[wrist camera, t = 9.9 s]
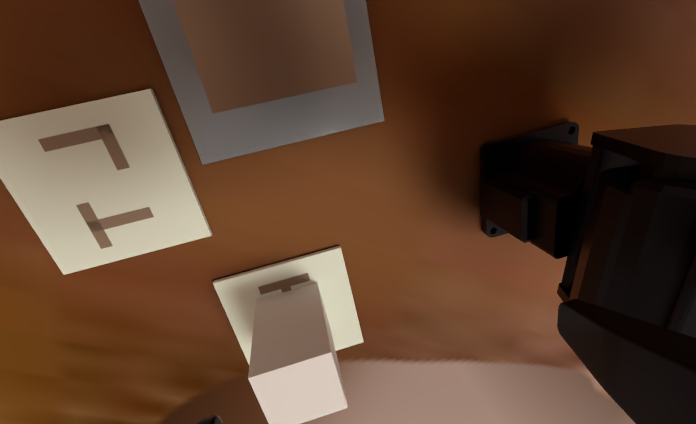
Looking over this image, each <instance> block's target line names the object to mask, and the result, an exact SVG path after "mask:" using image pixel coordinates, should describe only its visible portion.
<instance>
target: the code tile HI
mask: <svg viewBox="0 0 696 424" xmlns="http://www.w3.org/2000/svg"><path fill="white" fill-rule="evenodd" d="M314 283H318V286H319V290H320V293H321V297H322V300H323V304H324V307H325V311H326V314H327V318H328V321H329V324H330V328H331V332H332V337H333V341H334V346H335V350H336V351H337V350H340V349H343V348H346V347H350V346H353V345H356V344H359V343H362V342H364V341H363V337H362V333H361V329H360V325H359V321H358V317H357V313H356V308H355V304H354V300H353V296H352V292H351V288H350V284H349V279H348V275H347V271H346V267H345V263H344V259H343V255H342V251H341V247H340V246H336V247H333V248H329V249H325V250H322V251H318V252H315V253H311V254H308V255H304V256H300V257H297V258H293V259H290V260H286V261H282V262H279V263H275V264H272V265H268V266H265V267H261V268H257V269H254V270H250V271H247V272H243V273H240V274H236V275H232V276H229V277H225V278H222V279H218V280H214V282H213V285H214V287H215V289H216V292H217V294H218V296H219V298H220V301H221V303H222V305H223V307H224V310H225V312H226V314H227V316H228V319H229V321H230V323H231V325H232V328H233V330H234V332H235V334H236V337H237V339H238V341H239V343H240V346H241V348H242V350H243V352H244V355H245V357H246V359H247V361H248V364H249V365H250V355H251V345H252V335H253V325H254V315H255V305H256V300H259V299H263V298H266V297H269V296H273V295H276V294H280V293H283V292H287V291H290V290H294V289H297V288H301V287H304V286H307V285H311V284H314Z"/></svg>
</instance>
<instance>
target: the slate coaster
mask: <svg viewBox="0 0 696 424" xmlns="http://www.w3.org/2000/svg"><path fill="white" fill-rule="evenodd" d="M138 1H139V3H140V6H141V8H142V11H143V14H144V16H145V19H146V21H147V24H148V26H149V29H150V31H151V34H152V37H153V39H154V42H155V44H156V47H157V49H158V52H159V55H160V57H161V60H162V62H163V65H164V67H165V70H166V72H167V75H168V78H169V80H170V83H171V85H172V88H173V90H174V93H175V95H176V98H177V101H178V103H179V106H180V108H181V111H182V113H183V116H184V118H185V121H186V124H187V126H188V129H189V131H190V134H191V136H192V139H193V141H194V144H195V147H196V149H197V152H198V154H199V157H200V159H201V162H202V165H204V164H208V163H212V162H216V161H220V160H224V159H229V158H233V157H237V156H241V155H245V154H249V153H253V152H258V151H262V150H266V149H270V148H274V147H278V146H282V145H286V144H291V143H295V142H299V141H303V140H307V139H311V138H315V137H320V136H324V135H328V134H332V133H336V132H340V131H344V130H349V129H353V128H357V127H361V126H365V125H369V124H373V123H378V122H382V121H384V115H383V108H382V102H381V95H380V89H379V82H378V76H377V69H376V63H375V56H374V50H373V43H372V37H371V30H370V24H369V17H368V11H367V4H366V0H343V2H344V8H345V14H346V19H347V25H348V31H349V37H350V43H351V49H352V55H353V60H354V66H355V72H356V78H357V82H356V83H351V84H347V85H342V86H338V87H333V88H329V89H324V90H319V91H315V92H310V93H306V94H301V95H296V96H292V97H287V98H283V99H278V100H273V101H269V102H264V103H260V104H255V105H250V106H246V107H241V108H237V109H232V110H228V111H223V112H218V113H214V114H213V113H212V110H211V107H210V104H209V101H208V99H207V96H206V93H205V90H204V87H203V84H202V81H201V78H200V76H199V73H198V70H197V67H196V64H195V61H194V58H193V55H192V53H191V50H190V47H189V44H188V41H187V38H186V35H185V32H184V29H183V27H182V24H181V21H180V18H179V15H178V12H177V9H176V6H175V4H174V1H173V0H138Z"/></svg>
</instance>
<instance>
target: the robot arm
mask: <svg viewBox="0 0 696 424" xmlns="http://www.w3.org/2000/svg"><path fill="white" fill-rule="evenodd" d="M569 128H570V131H569V132H568V130H569ZM578 133H579V126H578V124H577V123H575V122H564V123H560V124H557V125H553V126H549V127H545V128H541V129H537V130H533V131H529V132H525V133H522V134H518V135H514V136H510V137H506V138H502V139H498V140H494V141H491V142H487V143H485V144H484V145H483V146H482V147H481V149H480V163H481V179H480V203H481V215H482V216H483V231H484V233H485V234H486V235H487V236H488V237H496V236H500V235H503V234H506V233H510V234H511V235H513V236H514V237H516V238H517V239H519V240H520V241H522V242H524V243H526V242H530V243H532V244H534V245H535V246H537V247H538V248H540V249H542V250H543V251H545V252H546V253H548V254H550V255H551V256H553V257H554V258H556V259H559V258H562V257H566V256H568V257H567V261H566V265H565V270H564V274H563V278H562V283H559V286H558V290H557V294H558V295H559V296H560V298H561V299H562V301H563V302H562V303H560V305H559V308H558V323H557V327H558V330H559V333H560V335H561V336H562V337H563V339H564V340H565V341H566V342H567V344H568V345H569V346H570V347H571V349H572V350H573V351H574V353H575V354H576V355H577V356H578V358H579V359H580V360H581V361H582V363H583V364H584V365H585V366H586V368H587V369H588V370H589V371H590V373H591V374H592V375H593V377H594V378H595V379H596V380H597V381H598V383H599V384H600V385H601V386H602V387H603V389H604V390H605V391H606V392H607V393H608V394H609V395H610V396H611V398H612V399H613V400H614V401H615V402H616V403H617V404H618V405H619V406H620V407H621V408H622V409H623V410H624V411H625V413H627V415H628V416H629V417H630V418H631V419H632V420H633V421H634V422H635V423H636V424H696V125H680V124H675V125H663V126H652V127H641V128H630V129H619V130H608V131H597V132H593V135H592V140H591V145H593V147H587V146H582V145H578ZM489 148H491V152H490V153H489V154H488V153H487V152H488V149H489ZM491 228H493V230H492V231H490V230H491ZM197 424H223V423H222V421H221V419H220V417H219V416H217V415H213V416H210V417H207V418H204V419H201V420H200V421H199V422H198V423H197Z"/></svg>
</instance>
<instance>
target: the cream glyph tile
mask: <svg viewBox="0 0 696 424" xmlns="http://www.w3.org/2000/svg"><path fill="white" fill-rule="evenodd" d="M0 179H1V180H2V182H3V183H4V185H5V186H6V188H7V189H8V191H9V192H10V194H11V195H12V197H13V198H14V200H15V201H16V203H17V204H18V206H19V208H20V209H21V211H22V212H23V214H24V215H25V217H26V218H27V220H28V221H29V223H30V224H31V226H32V227H33V229H34V230H35V232H36V233H37V235H38V236H39V238H40V240H41V241H42V243H43V244H44V246H45V247H46V249H47V250H48V252H49V253H50V255H51V256H52V258H53V259H54V261H55V262H56V264H57V265H58V267H59V268H60V270H61V271H62V273H63V275H65V274H69V273H73V272H76V271H80V270H84V269H88V268H91V267H95V266H99V265H103V264H107V263H110V262H114V261H118V260H122V259H125V258H129V257H133V256H137V255H141V254H144V253H148V252H152V251H156V250H159V249H163V248H167V247H171V246H174V245H178V244H182V243H186V242H190V241H193V240H197V239H201V238H205V237H208V236H212V231H211V229H210V226H209V224H208V222H207V219H206V217H205V214H204V212H203V209H202V207H201V205H200V202H199V200H198V197H197V195H196V193H195V190H194V188H193V185H192V183H191V181H190V178H189V176H188V173H187V171H186V168H185V166H184V164H183V161H182V159H181V156H180V154H179V152H178V149H177V147H176V144H175V142H174V139H173V137H172V135H171V132H170V130H169V127H168V125H167V123H166V120H165V118H164V115H163V113H162V111H161V108H160V106H159V103H158V101H157V98H156V96H155V94H154V91H153V89H147V90H142V91H137V92H133V93H128V94H123V95H119V96H114V97H109V98H105V99H100V100H95V101H90V102H86V103H81V104H76V105H72V106H67V107H62V108H58V109H53V110H48V111H44V112H39V113H34V114H30V115H25V116H20V117H16V118H11V119H6V120H2V121H0Z"/></svg>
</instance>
